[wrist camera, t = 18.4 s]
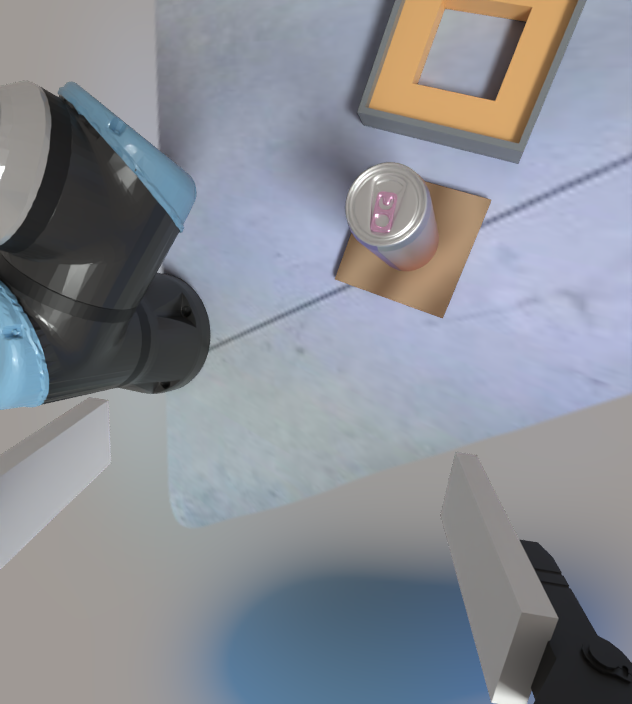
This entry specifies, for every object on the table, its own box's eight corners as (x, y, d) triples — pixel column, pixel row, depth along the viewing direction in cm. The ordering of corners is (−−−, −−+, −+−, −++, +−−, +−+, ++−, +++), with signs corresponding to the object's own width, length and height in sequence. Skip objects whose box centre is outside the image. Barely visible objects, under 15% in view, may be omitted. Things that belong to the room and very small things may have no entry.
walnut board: (337, 280, 47) (334, 279, 46) (376, 170, 44) (374, 167, 44) (442, 318, 43) (442, 318, 43) (490, 202, 41) (491, 199, 40)
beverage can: (373, 266, 44) (334, 241, 30) (386, 208, 43) (352, 154, 29) (431, 276, 43) (418, 255, 28) (445, 216, 42) (439, 163, 28)
